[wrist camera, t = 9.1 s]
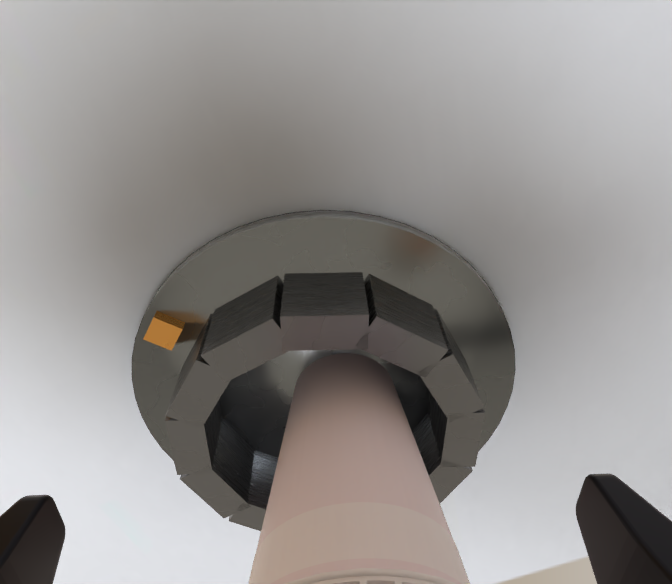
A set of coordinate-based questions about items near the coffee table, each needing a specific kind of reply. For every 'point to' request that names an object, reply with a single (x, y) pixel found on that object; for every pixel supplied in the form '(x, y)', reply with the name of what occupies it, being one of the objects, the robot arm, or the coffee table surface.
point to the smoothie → (352, 488)
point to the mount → (316, 347)
